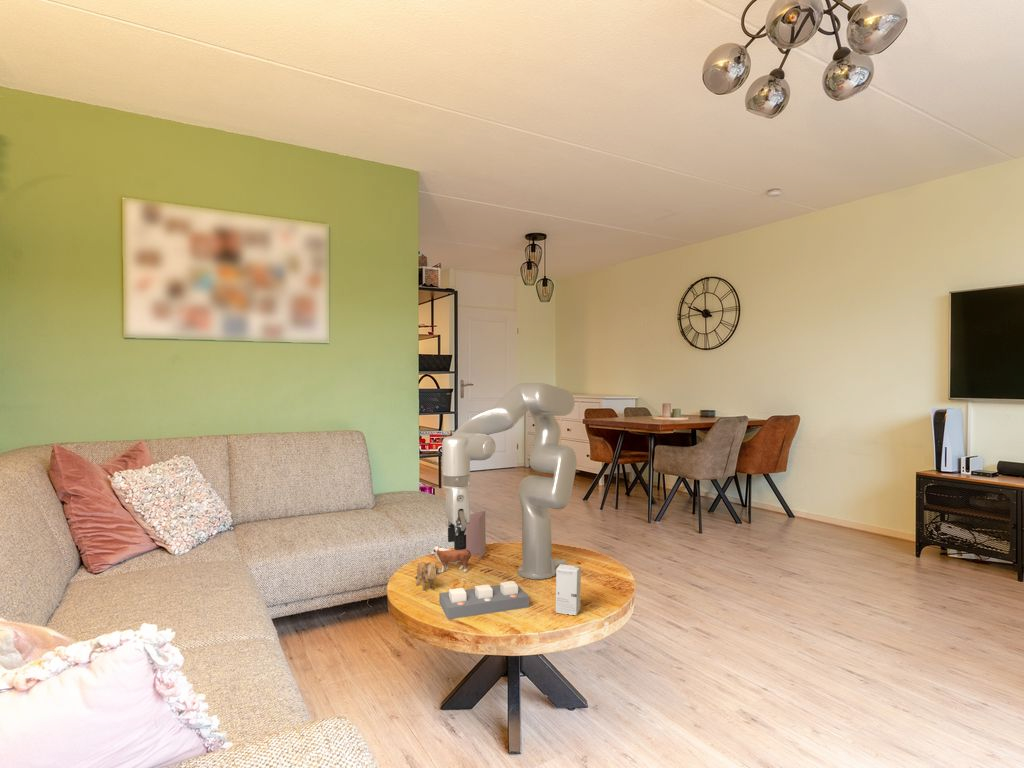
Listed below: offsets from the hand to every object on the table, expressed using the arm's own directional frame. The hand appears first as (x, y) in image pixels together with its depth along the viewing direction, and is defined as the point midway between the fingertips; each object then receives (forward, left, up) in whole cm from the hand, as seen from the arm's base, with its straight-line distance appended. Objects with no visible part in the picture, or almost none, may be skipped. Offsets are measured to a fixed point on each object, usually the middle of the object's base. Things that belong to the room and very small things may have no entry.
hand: (456, 544), depth 155 cm
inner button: (-15, 0, -16) cm, 22 cm away
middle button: (-8, 0, -16) cm, 18 cm away
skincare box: (-28, +12, -18) cm, 35 cm away
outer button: (0, 0, -16) cm, 16 cm away
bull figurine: (-5, -31, -18) cm, 36 cm away
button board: (-8, 0, -18) cm, 19 cm away
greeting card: (-18, -42, -18) cm, 49 cm away
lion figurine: (+5, -20, -18) cm, 27 cm away
